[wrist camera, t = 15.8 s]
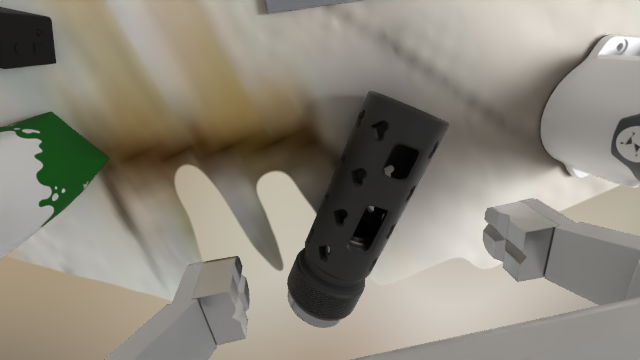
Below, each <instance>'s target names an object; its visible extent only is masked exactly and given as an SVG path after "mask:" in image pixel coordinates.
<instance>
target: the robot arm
mask: <svg viewBox="0 0 640 360" xmlns="http://www.w3.org/2000/svg"><path fill="white" fill-rule="evenodd" d="M616 47H617V48H616ZM541 139H542V143H543V145H544V147H545V149H546V151H547V152H548V153H549V154H550V155H551V156H552V157H553V158H555V159H557V160H559V161H560V162H562V163H563V164H565V166H566V168H567V170H568V172H569V173H570V174H571V175H572V176H575V177H578V178H582V177H586V176H588V175H594V176H597V177H599V178H602V179H605V180H608V181H611V182H614V183H617V184H620V185H623V186H627V187H631V188H636V187H637V186H640V37H632V36H618V35H607V36H605V37H603V38H602V39H601V40H600V41H599V42H598V43H597V44H596V46H595V47H594V48H593V50H592V51H591V53H590V54H589V56H588V57H587V58H586V59H585V60H584V61H583V62H582V63H581V64H580V65H579V66H577V67H576V68H575V69H574V70H572V71H571V72H570V73H569V74H568V75H567V76H566V77H565V78H564V79H563V80H562V81H561V82H560V83H559V85H558V86H557V87H556V89H555V90H554V92H553V93H552V95H551V96H550V98H549V100H548V102H547V104H546V107H545V109H544V112H543V116H542V120H541ZM485 220H486V222H487V223H488V225H487V226H486V228H485V229H484V230H483V241H484V245H485V248H486V249H487V251H488V253H489V254H490V255H491V256H492V257H493V258H495V259H497V260H500V261H502V262H503V268H504V269H505V270H506V271H507V272H508V273H509V274H510V275H511V276H512V277H513V278H514V279H515V280H516V281H517V282H519V281H525V280H530V279H536V278H541V277H545V279H547V280H549V281H551V282H553V283H555V284H557V285H559V286H561V287H563V288H565V289H567V290H570V291H571V292H573V293H575V294H577V295H579V296H581V297H584V298H586V299H588V300H590V301H592V302H594V303H596V304H598V305H600V306H595V307H591V308H586V309H582V310H578V311H573V312H568V313H564V314H559V315H554V316H550V317H545V318H540V319H536V320H531V321H526V322H522V323H517V324H512V325H508V326H503V327H498V328H494V329H489V330H484V331H480V332H475V333H470V334H466V335H462V336H457V337H452V338H448V339H443V340H439V341H434V342H429V343H425V344H420V345H415V346H411V347H406V348H402V349H397V350H392V351H388V352H383V353H379V354H374V355H370V356H365V357H360V358H356V359H351V360H640V236H637V235H633V234H628V233H624V232H620V231H616V230H612V229H608V228H604V227H600V226H596V225H591V224H587V223H583V222H579V223H576V222H574V221H572V220H571V219H569V218H567V217H566V216H564V215H563V214H561V213H559V212H558V211H556V210H554V209H553V208H551V207H549V206H548V205H546V204H544V203H543V202H541V201H539V200H538V199H533V198H531V199H527V200H522V201H518V202H515V203H510V204H505V205H500V206H496V207H491V208H487V210H486V212H485ZM241 272H242V264H241V261H240V258H239V257H238V256H235V257H228V258H222V259H217V260H211V261H206V262H200V263H194V264H190V265H188V266H187V267H186V270H185V272H184V275H183V277H182V280H181V282H180V285H179V287H178V290H177V292H176V295H175V297H174V300H173V302H172V304H167V305H166V306H165V307H164V308H163V309H161V310H160V311H159V312H158V313H157V314H156V315H155V316H153V317H152V318H151V319H150V320H149V321H148V322H147V323H145V324H144V325H143V326H142V327H141V328H140V329H139V330H137V332H135V333H134V334H133V335H132V336H131V337H129V338H128V339H127V340H126V341H125V342H124V343H123V344H122V345H120V346H119V347H118V348H117V349H116V350H115V351H114V352H112V353H111V354H110V355H109V356H108V357H107V358H106V359H104V360H208V359H209V358H210V356H211V355H212V353H213V352H214V350H215V349H216V345H221V344H224V343H229V342H233V341H237V340H242V339H245V338H246V330H247V321H248V319H247V316H246V313H245V311H247V309H248V308H249V289H248V284H247V280H246V278H245V277H244V276H243V275H241Z"/></svg>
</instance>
